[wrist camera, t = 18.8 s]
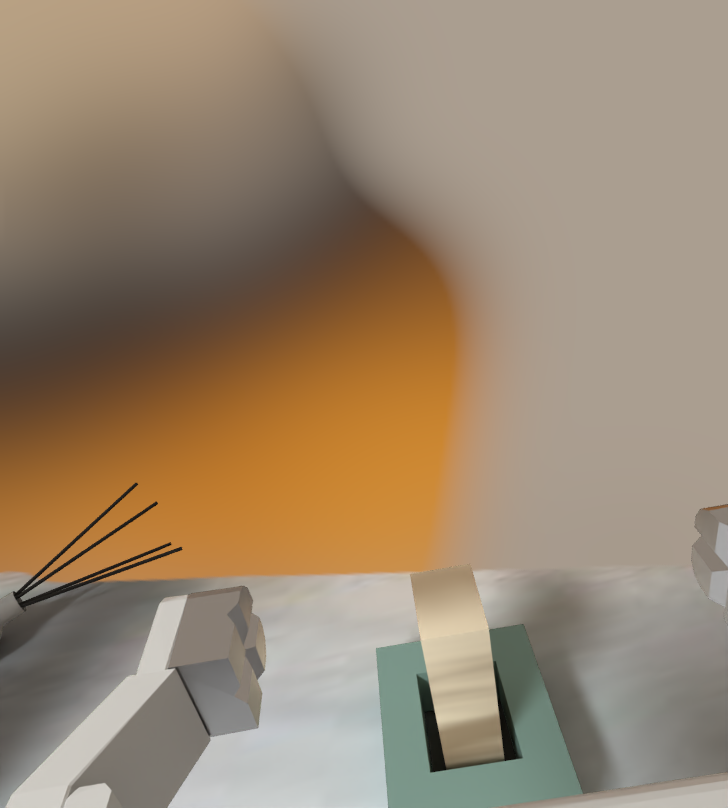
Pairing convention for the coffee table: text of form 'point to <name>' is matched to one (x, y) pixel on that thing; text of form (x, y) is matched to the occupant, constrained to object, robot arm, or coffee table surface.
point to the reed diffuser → (12, 603)
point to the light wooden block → (459, 665)
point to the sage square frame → (483, 784)
